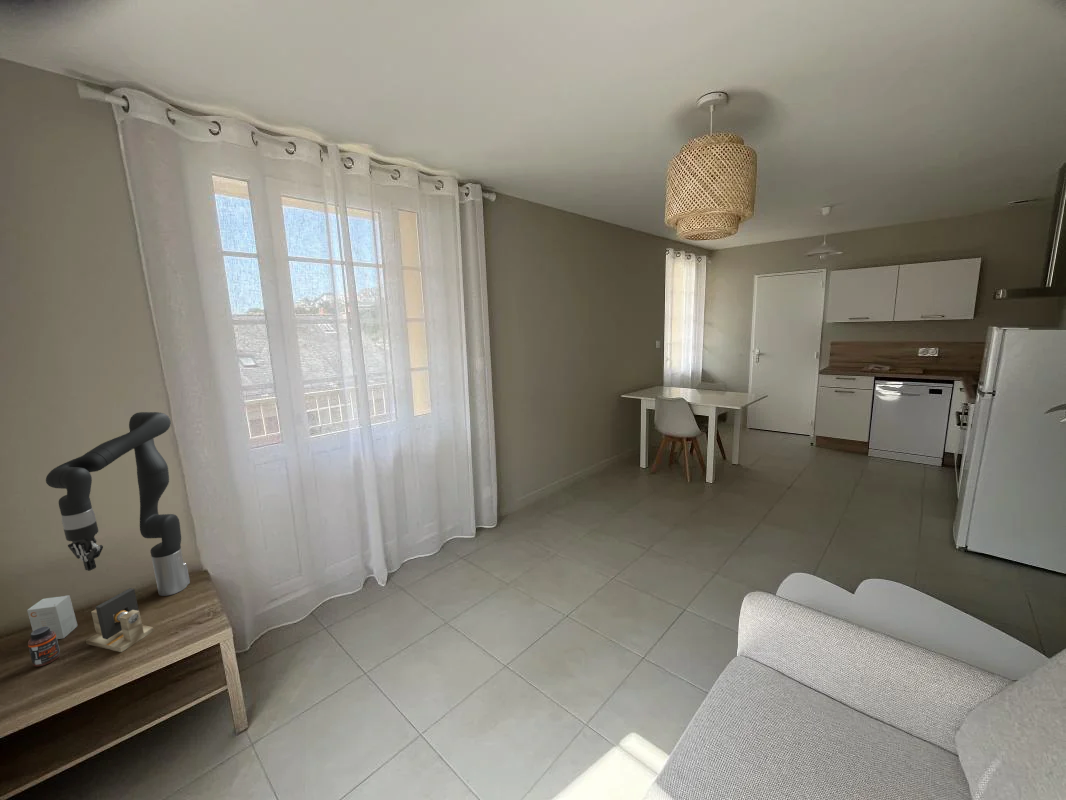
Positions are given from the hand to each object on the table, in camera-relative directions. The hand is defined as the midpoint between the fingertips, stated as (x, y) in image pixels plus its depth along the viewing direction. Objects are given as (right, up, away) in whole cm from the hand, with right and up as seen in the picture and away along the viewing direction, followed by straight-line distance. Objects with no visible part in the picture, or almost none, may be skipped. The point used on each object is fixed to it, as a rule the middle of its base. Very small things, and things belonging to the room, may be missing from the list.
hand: (90, 569), depth 142 cm
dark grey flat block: (+8, -22, +3) cm, 24 cm away
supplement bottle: (-8, -28, -6) cm, 30 cm away
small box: (-17, -26, +5) cm, 32 cm away
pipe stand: (+7, -26, +4) cm, 27 cm away
